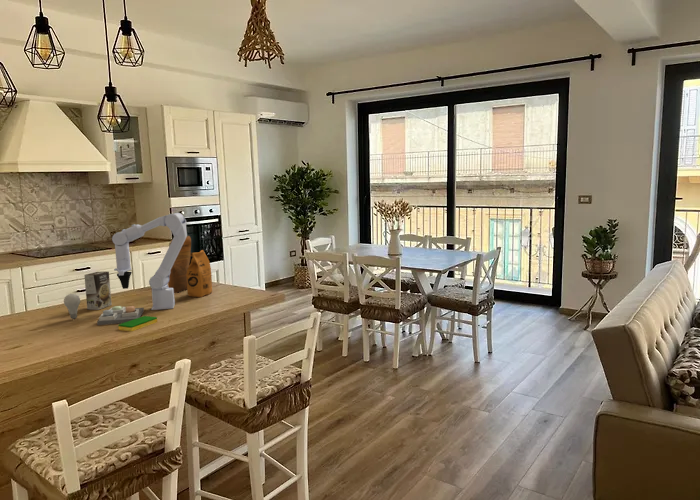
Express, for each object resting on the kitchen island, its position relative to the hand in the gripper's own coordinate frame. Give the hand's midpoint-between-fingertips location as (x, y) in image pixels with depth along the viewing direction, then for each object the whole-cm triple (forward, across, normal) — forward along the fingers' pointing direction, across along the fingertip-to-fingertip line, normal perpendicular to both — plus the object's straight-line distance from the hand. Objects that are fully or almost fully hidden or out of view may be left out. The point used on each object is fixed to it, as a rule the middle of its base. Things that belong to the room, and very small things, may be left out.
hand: (125, 288), depth 229 cm
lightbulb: (+10, +12, -19) cm, 24 cm away
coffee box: (+10, -7, -13) cm, 18 cm away
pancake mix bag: (+10, -32, +21) cm, 39 cm away
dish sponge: (+10, +31, +9) cm, 34 cm away
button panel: (+9, +16, 0) cm, 18 cm away
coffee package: (+10, -19, +31) cm, 38 cm away
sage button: (+8, +11, -2) cm, 14 cm away
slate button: (+7, +21, -4) cm, 23 cm away
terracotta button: (+7, +18, +4) cm, 20 cm away
